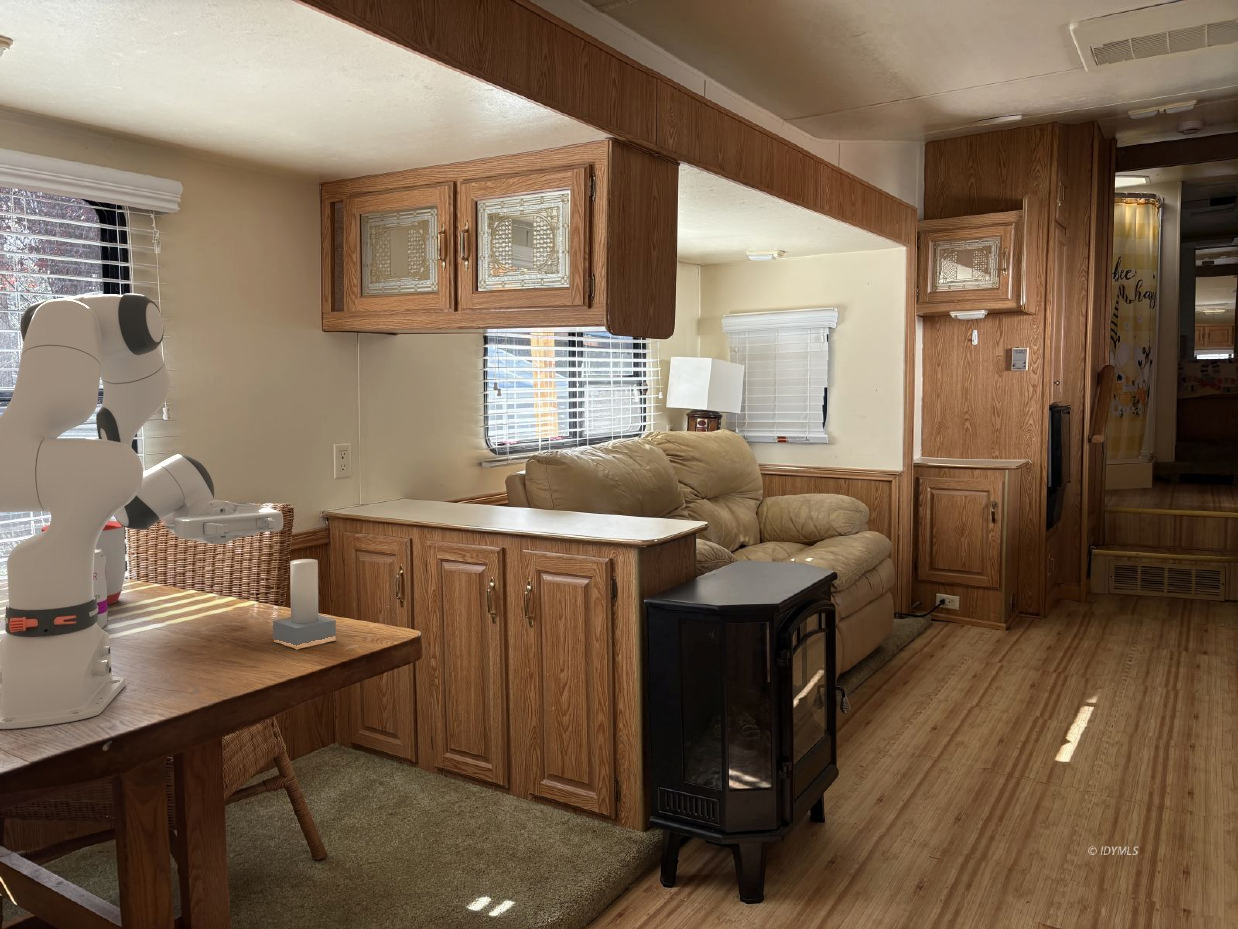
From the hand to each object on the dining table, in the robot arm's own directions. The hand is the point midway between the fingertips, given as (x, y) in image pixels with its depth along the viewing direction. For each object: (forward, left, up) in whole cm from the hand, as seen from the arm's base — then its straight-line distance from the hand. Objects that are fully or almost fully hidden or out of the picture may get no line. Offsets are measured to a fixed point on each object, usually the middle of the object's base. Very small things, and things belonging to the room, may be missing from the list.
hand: (249, 527), depth 178 cm
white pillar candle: (-11, -9, -16) cm, 22 cm away
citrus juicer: (+37, +31, -20) cm, 52 cm away
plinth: (-11, -9, -20) cm, 25 cm away
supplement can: (+15, +29, -20) cm, 39 cm away
